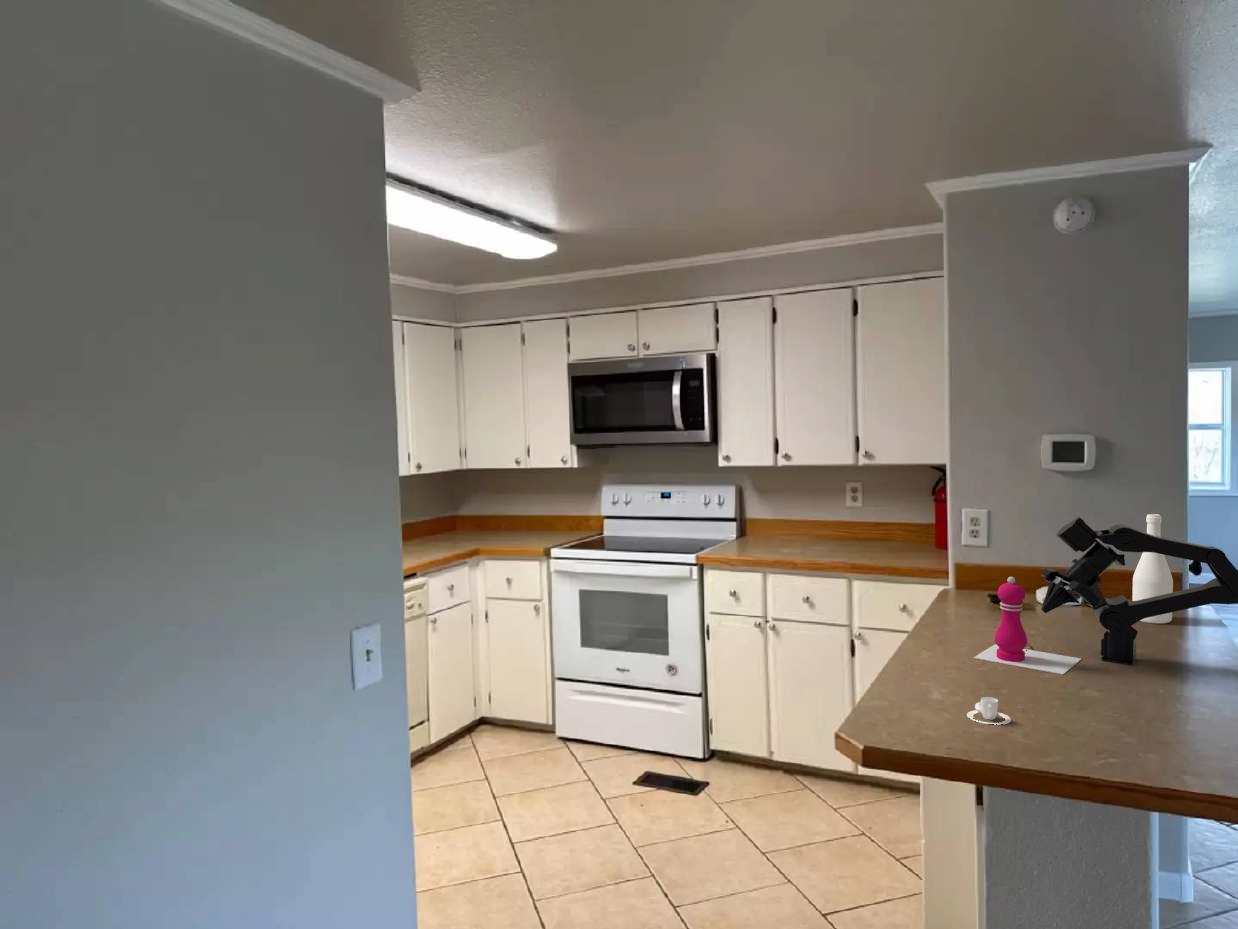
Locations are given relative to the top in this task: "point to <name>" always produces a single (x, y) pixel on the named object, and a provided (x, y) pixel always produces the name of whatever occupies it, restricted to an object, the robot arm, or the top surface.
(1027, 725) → the top surface
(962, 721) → the top surface
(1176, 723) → the top surface
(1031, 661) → the rubber mat
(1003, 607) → the pepper mill
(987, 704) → the teacup and saucer
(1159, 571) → the wine bottle
